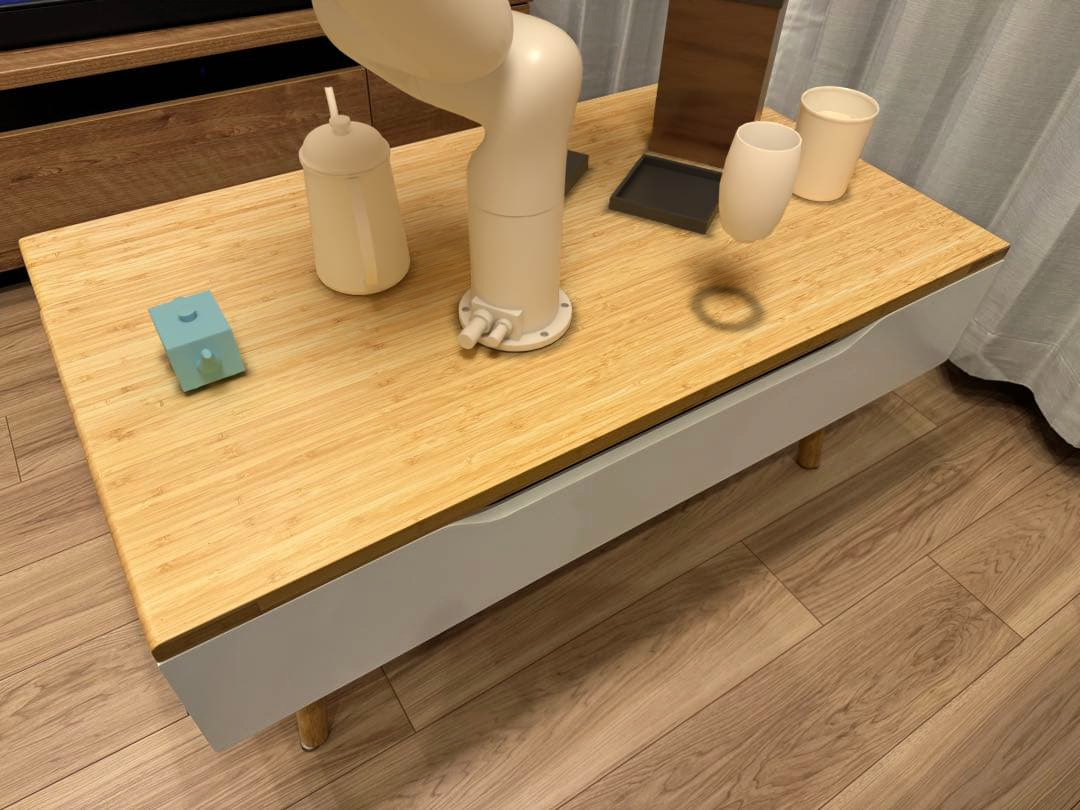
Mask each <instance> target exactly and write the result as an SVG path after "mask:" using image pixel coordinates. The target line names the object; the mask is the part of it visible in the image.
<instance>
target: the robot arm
mask: <svg viewBox="0 0 1080 810" xmlns="http://www.w3.org/2000/svg"><path fill="white" fill-rule="evenodd" d="M311 3H312V4H311V5H312V8H313V11H314V15H315V18H316V20H317V22H318V24H319V26H320V28H321V29H322V31H323V33H324V34H325V36H326V37H327V38H328V40H329V41H330V43H331V44H333V46H334V47H336V48H337V49H338V50H339V51H340V52H342V53H343V54H344V55H346V57H349V58H350V59H351V60H353V61H355V62H356V63H357V64H359V65H361V66H362V67H363V68H365V69H366V70H369V71H370V72H372V73H373V74H375V75H376V76H378V77H380V78H381V79H382V80H384V81H385V82H387V83H388V84H390V85H392V86H394V87H395V88H397V89H399V90H400V91H402V92H404V93H406V94H407V95H409V96H410V97H412V98H414V99H416V100H419V101H421V102H423V103H426V104H428V105H432V106H433V107H436V108H439V109H441V110H445V111H447V112H450V113H453V114H456V115H458V116H461V117H464V118H465V119H468V120H470V121H473V122H475V123H477V124H479V125H481V126H482V128H483V129H484V137H483V139H482V141H481V142H480V144H478V146H477V147H476V148H475V150H474V151H473V152H472V154H471V156H470V158H469V159H468V162H467V166H466V174H465V184H466V199H467V219H468V221H467V222H468V241H469V260H470V262H469V263H470V281H471V282H470V283H471V287H469V288H468V289H467V290H466V291H465V293H464V294H463V295H462V297H461V298H460V300H459V302H458V308H457V309H458V319H459V323H460V326H461V328H462V330H461V331H460V333H459V334H458V335H457V336H456V341H457V343H458V345H459V346H460V347H462V348H464V349H466V350H472V349H473V348H474V346H475V345H476V344H477V343H479V344H481V345H483V346H485V347H488V348H491V349H495V350H497V351H504V352H526V351H533V350H537V349H541V348H544V347H545V346H546V347H547V346H548V345H551V344H552V343H554V342H556V341H557V340H559V339H561V338H562V337H563V336H564V334H566V332H567V331H568V329H569V328H570V326H571V323H572V319H573V305H572V302H571V299H570V297H569V296H568V295H567V293H566V292H565V291H564V290H563V289H562V288H561V285H560V283H561V267H562V266H561V264H562V248H563V247H562V246H563V228H564V227H563V225H564V210H565V197H564V190H565V173H566V160H567V151H568V150H569V142H570V137H571V130H572V127H573V121H574V117H575V113H576V109H577V106H578V102H579V99H580V98H579V97H580V94H581V89H582V84H583V75H584V74H583V73H584V65H583V58H582V55H581V52H580V49H579V47H578V45H577V44H576V42H575V41H574V40H573V38H572V37H571V36H569V34H568V33H567V32H565V31H564V30H563V29H561V28H560V27H559V26H557V25H556V24H554V23H552V22H549V21H548V20H546V19H543V18H540V17H537V16H534V15H530V14H528V13H523V12H520V11H517V10H513V9H512V7H511V4H510V1H509V0H311Z"/></svg>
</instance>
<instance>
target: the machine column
mask: <svg viewBox="0 0 1080 810" xmlns="http://www.w3.org/2000/svg"><path fill="white" fill-rule="evenodd" d="M789 1H790V0H668V6H667V14H666V15H667V16H666V19H665V20H666V21H665V28H664V36H663V44H662V52H661V58H660V66H659V71H658V73H659V74H658V81H657V88H656V96H655V102H654V110H653V118H652V125H651V131H650V132H651V133H650V141H649V148H648V151H649V152H653V153H657V154H661V155H665V156H669V157H672V158H673V157H674V158H678V159H681V160H686V161H691V162H695V163H699V164H703V165H707V166H711V167H716V168H719V169H724V165H725V161H726V158H727V155H728V152H729V150H730V147H731V145H732V142H733V139H734V137H735V134H736V132H737V130H738V128H739V127H740V126H742V125H744V124H746V123H750V122H755V121H762V117H763V116H762V115H763V111H764V106H765V103H766V98H767V94H768V90H769V85H770V81H771V77H772V74H773V73H772V72H773V68H774V64H775V60H776V56H777V52H778V48H779V44H780V39H781V35H782V32H783V27H784V22H785V18H786V14H787V9H788V5H789Z"/></svg>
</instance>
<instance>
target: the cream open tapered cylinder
mask: <svg viewBox="0 0 1080 810" xmlns="http://www.w3.org/2000/svg"><path fill="white" fill-rule="evenodd" d="M799 100H800V101H799V108H798V112H797V116H796V117H797V118H796V121H795V122H796V123H795V126H794V130H795V131H796V132H797V133H799V135H800V137H801V139H802V146H801V155H800V163H799V169H798V173H797V177H796V182H795V186H794V190H793V195H795V196H798V197H799V198H802V199H805V200H808V201H813V202H831V201H832V202H833V201H836V200H838V199H840V198H841V197H843V196H844V194H845V193H846V191H847V188H848V187H849V185H850V181H851V179H852V177H853V174H854V172H855V169H856V167H857V165H858V162H859V160H860V158H861V155H862V153H863V150H864V148H865V145H866V143H867V141H868V138H869V135H870V134H871V131H872V129H873V126H874V124H875V121H876V119H877V117H878V115H879V114H880V105H879V103H878V102H877V101H876V100H875V99H874V97H871V96H870V95H868V94H866V93H864V92H861V91H859V90H855V89H853V88H848V87H844V86H836V85H835V86H834V85H825V86H816V87H812V88H809V89H807V90H805V91H804V92H803V93H802V94H801V96H800V99H799Z"/></svg>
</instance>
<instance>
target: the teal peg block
mask: <svg viewBox="0 0 1080 810" xmlns="http://www.w3.org/2000/svg"><path fill="white" fill-rule="evenodd" d="M147 312H148V314H149V316H150V318H151V321H152V323H153V326H154V328H155V331H156V333H157V335H158V338H159V340H160V343H161V345H162V346H163V347H162V348H163V349H164V351H165V354H166V356H167V358H168V361H169V363H170V365H171V368H172V369H173V371H174V374H175V376H176V377H177V380H178V383H179V385H180V387H181V390H182V391H183V393H186V392H188V391H191V390H197V389H198V388H200V387H202V386H205V385H208V384H210V383H214V382H216V381H219V380H222V379H225V378H228V377H233V376H235V375H237V374H240V373H241V372H245V371H246V368H245V365H244V363H243V358H242V357H241V353H240V350H239V347H238V344H237V341H236V339H235V335H234V332H233V329H232V327H231V326H230V323H229V321H228V320H227V318H226V316H225V315H224V313H223V311H222V309H221V307H220V305H219V304H218V302H217V300H216V299H215V297H214V295H213V293H212V291H211V289H207V290H204V291H201V292H197V293H194V294H191V295H187V296H178V297H174V298H173V300H172V301H167V302H165V303H162V304H158V305H155V306H152V307H148V308H147Z"/></svg>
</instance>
